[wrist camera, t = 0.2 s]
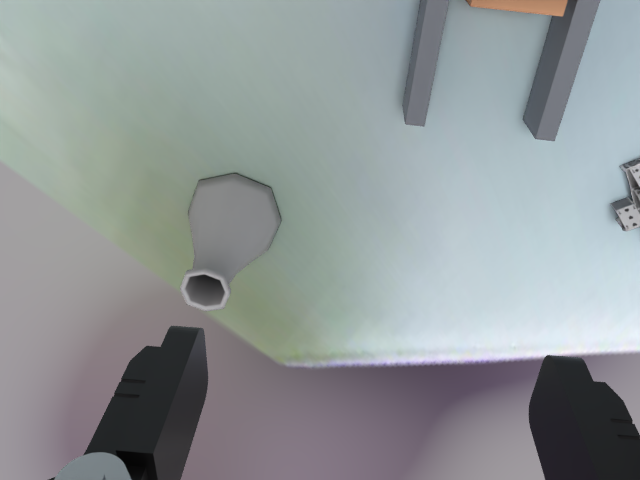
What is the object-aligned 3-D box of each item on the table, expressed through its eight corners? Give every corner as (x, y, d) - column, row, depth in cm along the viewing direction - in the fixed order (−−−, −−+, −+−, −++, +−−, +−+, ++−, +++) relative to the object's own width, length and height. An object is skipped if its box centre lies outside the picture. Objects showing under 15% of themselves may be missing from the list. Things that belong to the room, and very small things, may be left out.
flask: (279, 258, 47) (260, 341, 39) (190, 248, 47) (152, 329, 39) (283, 176, 43) (263, 249, 35) (186, 166, 43) (143, 236, 35)
